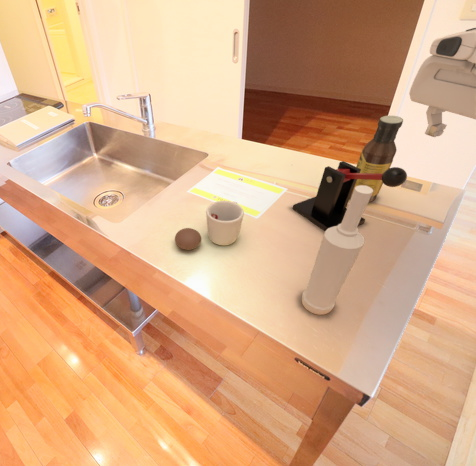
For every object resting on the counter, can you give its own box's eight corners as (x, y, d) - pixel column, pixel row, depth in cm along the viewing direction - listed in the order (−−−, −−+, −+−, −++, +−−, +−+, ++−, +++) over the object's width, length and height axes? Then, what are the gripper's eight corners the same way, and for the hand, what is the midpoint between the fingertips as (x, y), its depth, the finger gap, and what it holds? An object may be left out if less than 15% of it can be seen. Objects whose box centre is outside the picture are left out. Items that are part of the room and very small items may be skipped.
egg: (169, 244, 76) (169, 231, 73) (188, 233, 78) (188, 220, 75) (187, 257, 72) (187, 244, 69) (206, 245, 74) (207, 232, 71)
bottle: (295, 295, 60) (333, 182, 44) (321, 290, 60) (369, 176, 44) (310, 318, 56) (357, 203, 40) (338, 313, 56) (398, 196, 40)
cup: (218, 217, 81) (220, 190, 76) (249, 226, 77) (253, 198, 72) (199, 242, 75) (200, 215, 70) (232, 253, 71) (235, 226, 65)
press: (363, 223, 72) (385, 174, 64) (332, 236, 71) (350, 187, 63) (321, 197, 81) (335, 151, 73) (292, 208, 80) (303, 162, 71)
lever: (412, 184, 58) (411, 164, 57) (397, 190, 57) (396, 170, 56) (341, 180, 71) (340, 165, 70) (328, 185, 70) (327, 169, 70)
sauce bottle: (355, 186, 83) (386, 110, 70) (381, 196, 79) (418, 117, 66) (340, 195, 81) (368, 118, 68) (365, 206, 77) (400, 126, 64)
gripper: (665, 50, 33) (567, 170, 41) (458, 31, 48) (418, 120, 57) (615, 63, 32) (526, 182, 41) (422, 39, 48) (387, 128, 57)
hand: (462, 145), depth 49 cm, fingers open, 8 cm apart
